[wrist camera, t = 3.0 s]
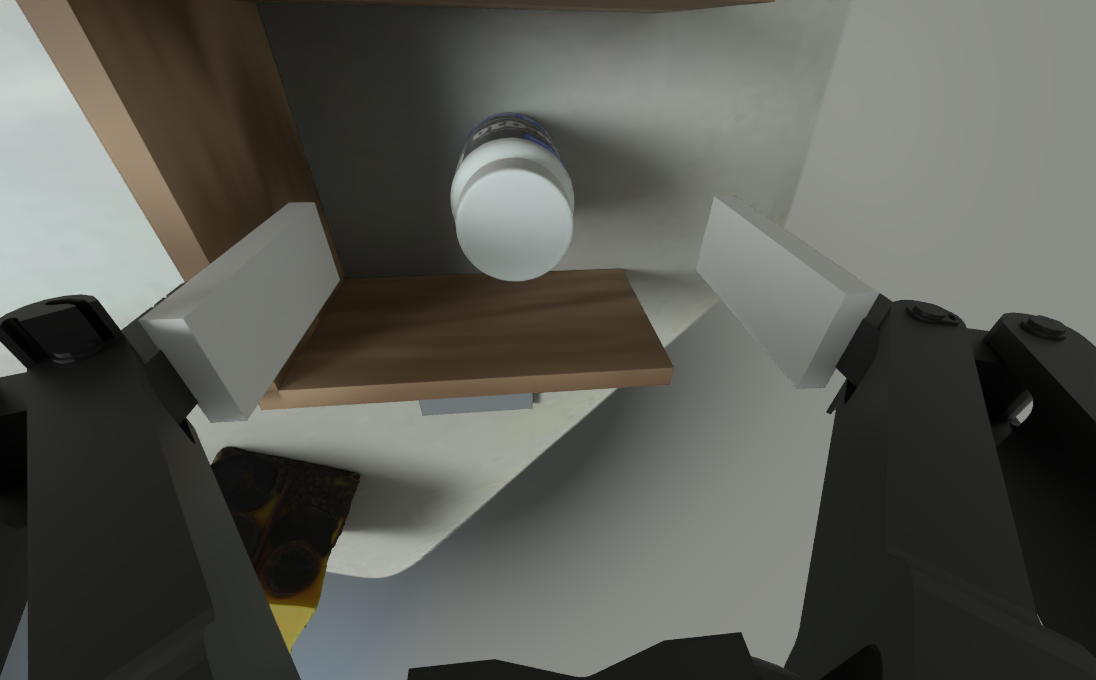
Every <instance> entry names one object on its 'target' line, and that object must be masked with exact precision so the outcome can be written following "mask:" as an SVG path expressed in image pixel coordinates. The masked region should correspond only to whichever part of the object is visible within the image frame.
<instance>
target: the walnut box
mask: <svg viewBox="0 0 1096 680" xmlns="http://www.w3.org/2000/svg"><path fill="white" fill-rule="evenodd" d="M16 2H17V4H18V5H19V7H20V9H21V10H22V12H23V14H24V15H25V17H26V18H27V20H28V22H29V23H30V25H31V27H32V28H33V30H34V32H35V33H36V35H37V37H38V38H39V40H40V42H41V43H42V45H43V47H44V48H45V50H46V52H47V53H48V55H49V57H50V58H51V60H52V62H53V63H54V65H55V67H56V68H57V70H58V72H59V73H60V75H61V77H62V78H63V80H64V82H65V83H66V85H67V87H68V88H69V90H70V92H71V93H72V95H73V97H74V98H75V100H76V102H77V103H78V105H79V107H80V108H81V110H82V112H83V113H84V115H85V117H86V118H87V120H88V122H89V123H90V125H91V127H92V128H93V130H94V132H95V133H96V135H97V137H98V138H99V140H100V142H101V143H102V145H103V147H104V148H105V150H106V152H107V153H108V155H109V157H110V158H111V160H112V162H113V163H114V165H115V167H116V168H117V170H118V172H119V173H120V175H121V177H122V178H123V180H124V182H125V183H126V185H127V187H128V188H129V190H130V192H131V193H132V195H133V197H134V198H135V200H136V201H137V203H138V205H139V206H140V208H141V210H142V211H143V213H144V215H145V216H146V218H147V220H148V221H149V223H150V225H151V226H152V228H153V230H154V231H155V233H156V235H157V236H158V238H159V240H160V241H161V243H162V245H163V246H164V248H165V250H166V251H167V253H168V255H169V256H170V258H171V260H172V261H173V263H174V265H175V266H176V268H177V270H178V271H179V273H180V275H181V276H182V278H183V280H184V281H185V282H187V281H189V280H190V279H192V278H193V277H194V276H196V275H197V274H198V273H199V272H201V271H202V270H203V269H205V268H206V267H207V266H208V265H210V264H211V263H212V262H214V261H215V260H216V259H217V258H219V257H220V256H221V255H223V254H224V253H225V252H226V251H228V250H229V249H230V248H231V247H233V246H234V245H235V244H237V243H238V242H239V241H240V240H242V239H243V238H244V237H246V236H247V235H248V234H249V233H251V232H252V231H253V230H255V229H256V228H257V227H258V226H260V225H261V224H262V223H264V222H265V221H266V220H267V219H269V218H270V217H271V216H273V215H274V214H275V213H276V212H278V211H279V210H280V209H282V208H283V207H284V206H285V205H287V204H288V203H299V202H315V205H316V208H317V211H318V214H319V218H320V221H321V224H322V227H323V230H324V233H325V236H326V239H327V242H328V245H329V248H330V251H331V254H332V257H333V260H334V263H335V266H336V269H337V273H338V276H339V279H340V281H339V282H338V284H337V285H336V287H335V288H334V290H333V291H332V293H331V294H330V296H329V297H328V299H327V300H326V302H325V303H324V305H323V306H322V308H321V310H320V311H319V313H318V314H317V316H316V317H315V319H314V320H313V322H312V323H311V325H310V326H309V328H308V329H307V331H306V332H305V334H304V335H303V337H302V338H301V340H300V341H299V343H298V344H297V346H296V347H295V349H294V350H293V352H292V353H291V355H290V356H289V358H288V359H287V361H286V362H285V364H284V365H283V367H282V368H281V370H280V371H279V373H278V374H277V376H276V377H275V379H274V381H273V382H272V384H271V385H270V387H269V388H268V390H267V391H266V393H265V394H264V396H263V397H262V399H261V400H260V402H259V403H258V404H259V406H260V408H261V409H262V410H270V409H286V408H302V407H318V406H334V405H350V404H366V403H382V402H398V401H414V400H430V399H446V398H462V397H478V396H495V395H511V394H527V393H543V392H559V391H575V390H591V389H607V388H623V387H638V386H654V385H669V384H670V381H671V377H672V374H673V370H674V366H673V365H672V363H671V361H670V359H669V357H668V355H667V353H666V351H665V349H664V347H663V346H662V344H661V342H660V340H659V338H658V336H657V334H656V332H655V330H654V329H653V327H652V325H651V323H650V321H649V319H648V317H647V315H646V313H645V312H644V310H643V308H642V306H641V304H640V302H639V300H638V298H637V296H636V295H635V293H634V291H633V289H632V287H631V285H630V283H629V281H628V279H627V278H626V276H625V274H624V272H623V270H622V269H603V270H574V271H548V272H547V273H545V274H543V275H541V276H539V277H537V278H534V279H530V280H525V281H505V280H501V279H497V278H494V277H492V276H489V275H487V274H458V275H430V276H401V277H372V278H345V276H344V273H343V270H342V267H341V264H340V260H339V257H338V254H337V251H336V248H335V245H334V242H333V239H332V236H331V233H330V230H329V227H328V224H327V220H326V217H325V214H324V211H323V208H322V205H321V202H320V199H319V196H318V193H317V190H316V187H315V184H314V181H313V177H312V174H311V171H310V168H309V165H308V162H307V159H306V156H305V153H304V150H303V147H302V144H301V141H300V137H299V134H298V131H297V128H296V125H295V122H294V119H293V116H292V113H291V110H290V107H289V104H288V101H287V97H286V94H285V91H284V88H283V85H282V82H281V79H280V76H279V73H278V70H277V67H276V64H275V61H274V57H273V54H272V51H271V48H270V45H269V42H268V39H267V36H266V33H265V30H264V27H263V24H262V21H261V17H260V14H259V11H258V8H257V5H256V2H258V3H297V4H337V5H376V6H415V7H455V8H494V9H533V10H573V11H612V12H651V13H660V12H671V11H681V10H692V9H703V8H713V7H724V6H735V5H745V4H756V3H767V2H775V0H16Z"/></svg>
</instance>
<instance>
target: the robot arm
mask: <svg viewBox="0 0 1096 680" xmlns="http://www.w3.org/2000/svg"><path fill="white" fill-rule="evenodd" d="M696 270H697V272H698V273H699V274H700V275H701V276H702V278H703V279H704V280H705V281H706V282H707V283H708V285H709V286H710V287H711V288H712V289H713V291H714V292H715V293H716V294H717V295H718V297H719V298H720V299H721V300H722V301H723V302H724V304H725V305H726V306H727V307H728V308H729V309H730V311H731V312H732V313H733V314H734V315H735V316H736V318H737V319H738V320H739V321H740V323H741V324H742V325H743V326H744V327H745V329H746V330H747V331H748V332H749V333H750V334H751V336H752V337H753V338H754V339H755V340H756V341H757V342H758V344H759V345H760V346H761V347H762V349H763V350H764V351H765V352H766V353H767V355H768V356H769V357H770V358H771V359H772V360H773V362H774V363H775V364H776V365H777V366H778V367H779V369H780V370H781V371H782V372H783V374H784V375H785V376H786V377H787V378H788V379H789V381H790V382H791V383H792V384H793V385H794V387H795V388H796V389H805V388H822V387H826V385H827V383H828V381H829V380H830V378H831V376H832V374H833V373H834V371H835V369H836V368H837V369H838V370H839V371H840V372H841V373H842V374H843V375H844V376H845V377H846V378H847V379H846V380H845V382H844V384H843V385H842V387H841V389H840V390H839V392H838V394H837V395H836V397H835V398H834V400H833V402H832V403H831V405H830V407H829V408H828V410H827V413H829V414H831V413H832V412H833V411H834V410H836V413H835V419H834V425H833V431H832V437H831V443H830V449H829V455H828V461H827V467H826V473H825V478H824V484H823V491H822V496H821V502H820V509H819V515H818V521H817V526H816V532H815V539H814V544H813V551H812V556H811V562H810V568H809V574H808V581H807V586H806V593H805V598H804V605H803V610H802V616H801V622H800V628H799V632H798V636H797V639H796V642H795V645H794V647H793V649H792V651H791V653H790V655H789V657H788V659H787V661H786V664H785V666H784V668H782V667H780V666H778V665H775V664H773V663H770V662H767V661H764V660H761V659H759V658H755V657H752V656H750V653H749V651H748V648H747V646H746V643H745V641H744V638H743V636H742V633H741V632H740V633H739V632H738V633H729V634H720V635H711V636H702V637H693V638H684V639H674V640H666V641H662V642H660V643H658V644H656V645H654V646H652V647H650V648H648V649H646V650H643V651H641V652H639V653H637V654H635V655H633V656H631V657H629V658H627V659H625V660H623V661H621V662H619V663H616V664H614V665H612V666H610V667H608V668H606V669H604V670H602V671H600V672H598V673H596V674H593V675H591V676H588V677H574V676H570V675H565V674H560V673H555V672H551V671H546V670H541V669H537V668H533V667H528V666H523V665H519V664H514V663H509V662H505V661H500V660H496V659H493V660H483V661H474V662H465V663H456V664H447V665H438V666H430V667H420V668H412V669H409V672H408V679H407V680H1096V347H1095V346H1094V345H1093V344H1092V343H1091V342H1089V341H1088V340H1087V339H1086V338H1085V337H1083V336H1082V335H1080V334H1079V333H1078V332H1076V331H1074V330H1073V329H1071V328H1068V327H1066V326H1065V325H1064V324H1062V323H1061V322H1059V321H1057V320H1054V319H1050V318H1048V317H1044V316H1040V315H1038V316H1034V315H1029V314H1023V313H1007V314H1003V315H1002V316H1001V318H1000V319H999V320H998V321H997V322H996V324H995V325H994V326H993V327H992V329H991V330H990V331H984V330H976V329H969V328H966V325H965V323H964V322H963V321H962V319H961V318H959V317H958V316H957V315H955V314H953V313H952V312H949V311H947V310H945V309H943V308H941V307H939V306H937V305H934V304H930V303H925V302H920V301H914V300H899V301H895V302H892V301H890V300H889V299H888V298H886V297H885V296H883V295H882V294H880V293H879V292H878V291H876V290H874V289H873V288H872V287H870V286H869V285H867V284H866V283H864V282H863V281H861V280H860V279H858V278H857V277H855V276H854V275H852V274H851V273H849V272H848V271H846V270H845V269H843V268H842V267H840V266H839V265H837V264H836V263H834V262H833V261H831V260H830V259H828V258H827V257H825V256H824V255H822V254H821V253H820V252H818V251H817V250H815V249H814V248H812V247H810V246H809V245H808V244H806V243H804V242H803V241H802V240H800V239H799V238H797V237H796V236H794V235H793V234H791V233H790V232H788V231H787V230H785V229H784V228H782V227H781V226H779V225H778V224H776V223H775V222H773V221H772V220H770V219H769V218H767V217H766V216H764V215H763V214H761V213H760V212H759V211H757V210H756V209H754V208H753V207H751V206H750V205H748V204H747V203H745V202H744V201H742V200H741V199H739V198H738V197H736V196H714V199H713V203H712V207H711V211H710V215H709V219H708V223H707V227H706V230H705V234H704V238H703V242H702V246H701V250H700V254H699V258H698V262H697V266H696ZM339 281H340V279H339V276H338V273H337V269H336V266H335V263H334V260H333V257H332V254H331V251H330V248H329V245H328V242H327V239H326V236H325V233H324V230H323V227H322V224H321V221H320V218H319V214H318V211H317V208H316V205H315V202H299V203H288V204H287V205H285V206H284V207H283V208H282V209H280V210H279V211H278V212H276V213H275V214H274V215H273V216H271V217H270V218H269V219H267V220H266V221H265V222H264V223H262V224H261V225H260V226H258V227H257V228H256V229H255V230H253V231H252V232H251V233H249V234H248V235H247V236H246V237H244V238H243V239H242V240H240V241H239V242H238V243H237V244H235V245H234V246H233V247H231V248H230V249H229V250H228V251H226V252H225V253H224V254H223V255H221V256H220V257H219V258H217V259H216V260H215V261H214V262H212V263H211V264H210V265H208V266H207V267H206V268H205V269H203V270H202V271H201V272H199V273H198V274H197V275H196V276H194V277H193V278H192V279H190V280H189V281H187V282H185V283H183V284H181V285H179V286H178V287H177V288H175V289H174V290H173V291H172V292H170V293H169V294H168V295H166V298H162V299H161V300H160V301H159V302H157V303H156V304H155V305H154V307H151V308H149V309H148V310H147V311H146V312H144V313H143V314H142V315H140V316H139V317H138V318H136V319H135V320H134V321H133V322H131V323H130V324H129V325H127V326H126V327H125V328H124V329H122V330H120V329H119V327H118V326H117V325H116V323H115V322H114V321H113V319H112V318H111V317H110V316H109V314H108V313H107V312H106V310H105V309H104V308H103V306H102V305H101V304H100V302H99V301H98V300H97V299H96V298H95V297H93V296H89V295H69V296H62V297H57V298H52V299H47V300H43V301H40V302H36V303H33V304H30V305H27V306H24V307H22V308H19V309H17V310H15V311H12V312H10V313H8V314H6V315H4V316H3V317H1V318H0V342H1V343H2V344H3V345H4V346H5V347H6V348H7V349H8V350H9V351H10V352H11V353H12V354H13V355H14V356H15V357H16V358H17V359H18V360H19V361H20V362H21V363H22V364H23V365H24V366H25V367H26V368H27V372H25V373H20V374H15V375H10V376H5V377H0V675H1V672H2V670H3V667H4V664H5V661H6V659H7V656H8V653H9V650H10V647H11V645H12V642H13V639H14V636H15V633H16V631H17V628H18V625H19V622H20V620H21V616H22V614H23V611H24V608H25V606H26V603H27V600H28V680H301V679H300V676H299V674H298V672H297V670H296V667H295V665H294V663H293V660H292V658H291V655H290V653H289V650H288V648H287V646H286V643H285V641H284V639H283V636H282V634H281V632H280V629H279V627H278V624H277V622H276V620H275V617H274V615H273V613H272V610H271V608H270V606H269V603H268V601H267V598H266V596H265V594H264V591H263V589H262V587H261V584H260V582H259V580H258V577H257V575H256V572H255V570H254V568H253V565H252V563H251V561H250V558H249V556H248V554H247V551H246V549H245V546H244V544H243V542H242V539H241V537H240V535H239V532H238V530H237V528H236V525H235V523H234V520H233V518H232V516H231V513H230V511H229V509H228V506H227V504H226V502H225V499H224V497H223V494H222V492H221V490H220V487H219V485H218V483H217V480H216V478H215V476H214V473H213V471H212V469H211V466H210V464H209V461H208V459H207V457H206V454H205V452H204V450H203V447H202V445H201V443H200V440H199V438H198V435H197V433H196V431H195V428H194V427H193V426H192V424H191V423H190V422H189V420H188V419H187V418H186V417H187V415H188V414H189V413H190V412H191V411H192V409H193V408H194V407H195V406H196V405H197V404H198V406H199V407H200V408H201V410H202V411H203V413H204V414H205V415H206V417H207V418H208V420H209V421H210V422H211V423H215V422H233V421H247V420H248V418H249V417H250V415H251V414H252V412H253V411H254V409H255V408H256V406H257V405H258V403H259V402H260V400H261V399H262V397H263V396H264V394H265V393H266V391H267V390H268V388H269V387H270V385H271V384H272V382H273V381H274V379H275V377H276V376H277V374H278V373H279V371H280V370H281V368H282V367H283V365H284V364H285V362H286V361H287V359H288V358H289V356H290V355H291V353H292V352H293V350H294V349H295V347H296V346H297V344H298V343H299V341H300V340H301V338H302V337H303V335H304V334H305V332H306V331H307V329H308V328H309V326H310V325H311V323H312V322H313V320H314V319H315V317H316V316H317V314H318V313H319V311H320V310H321V308H322V306H323V305H324V303H325V302H326V300H327V299H328V297H329V296H330V294H331V293H332V291H333V290H334V288H335V287H336V285H337V284H338V282H339ZM1032 400H1033V408H1032V411H1031V413H1030V414H1029V416H1028V417H1027V419H1025V421H1023V422H1022V423H1020V422H1019V421H1018V419H1017V418H1016V416H1017V415H1018V414H1019V413H1020V412H1021V411H1022V410H1023V409H1024V408H1025V407H1026V406H1027V405H1028V404H1029V403H1030V402H1031V401H1032ZM1037 614H1038V616H1039V618H1040V620H1041V622H1042V624H1043V625H1041V623H1040V620H1039V618H1038V616H1037Z"/></svg>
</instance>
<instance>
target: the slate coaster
mask: <svg viewBox="0 0 1096 680" xmlns="http://www.w3.org/2000/svg"><path fill="white" fill-rule="evenodd" d="M419 404H420V408H421V412H422V416H424V415H439V414H455V413H470V412H485V411H500V410H515V409H530V408H533V393H527V394H511V395H495V396H478V397H462V398H446V399H430V400H419Z"/></svg>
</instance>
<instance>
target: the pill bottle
mask: <svg viewBox="0 0 1096 680" xmlns="http://www.w3.org/2000/svg"><path fill="white" fill-rule="evenodd" d="M451 209H452V214H453V218H454V220H455V224H456V234H457V238H458V241H459V244H460V246H461V248H462V250H463V252H464V254H465V255H466V257H467V258H468V259H469V260H470V262H471V263H472V264H473V265H474V266H476V267H477V268H478V269H479V270H481V271H482V272H484V273H485V274H487V275H489V276H492V277H494V278H497V279H501V280H505V281H525V280H530V279H534V278H537V277H539V276H541V275H543V274H545V273H547V272H548V271H550V270H551V269H553V268H554V267H555V266H556V265H557V264H558V263H559V262H560V261H561V259H562V258H563V257H564V255H565V254H566V252H567V250H568V248H569V246H570V243H571V240H572V236H573V227H574V221H573V212H574V191H573V186H572V181H571V179H570V177H569V174H568V172H567V170H566V168H565V166H564V164H563V162H562V160H561V158H560V156H559V154H558V152H557V150H556V148H555V145H554V143H553V141H552V140H551V138H550V136H549V135H548V134H547V132H546V131H545V130H544V129H543V128H542V127H541V126H540V125H539V124H538V123H537V122H535V121H534V120H532V119H530V118H528V117H526V116H523V115H520V114H517V113H498V114H494V115H491V116H489V117H487V118H485V119H484V120H482V121H481V122H480V123H478V124H477V125H476V126H475V127H474V128H473V130H472V131H471V132H470V134H469V135H468V137H467V139H466V141H465V143H464V146H463V149H462V153H461V156H460V159H459V163H458V166H457V169H456V172H455V175H454V179H453V182H452V187H451Z"/></svg>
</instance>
